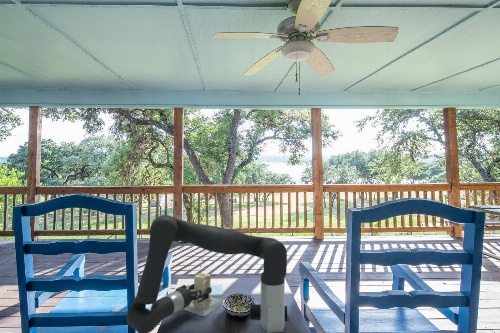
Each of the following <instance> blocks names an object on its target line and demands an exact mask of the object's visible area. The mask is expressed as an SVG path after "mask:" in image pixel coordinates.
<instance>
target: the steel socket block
mask: <svg viewBox="0 0 500 333" xmlns="http://www.w3.org/2000/svg"><path fill="white" fill-rule="evenodd" d="M221 306H222V299H221V298H216V297H214V296H210V302H209V303H207V304H206V305H204V306H201V305H198V304H195V303H194V300H193V301H191V303H190V305H189V306H187V307H186V308H184V309H182V310H183V311H185V312H188V313H191V314H195V315H197V316H201V317H205V316H207V315H208V314H210V313H211V312H213V311H215V310H216V309H218V308H221ZM182 310H181V311H182Z"/></svg>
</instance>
